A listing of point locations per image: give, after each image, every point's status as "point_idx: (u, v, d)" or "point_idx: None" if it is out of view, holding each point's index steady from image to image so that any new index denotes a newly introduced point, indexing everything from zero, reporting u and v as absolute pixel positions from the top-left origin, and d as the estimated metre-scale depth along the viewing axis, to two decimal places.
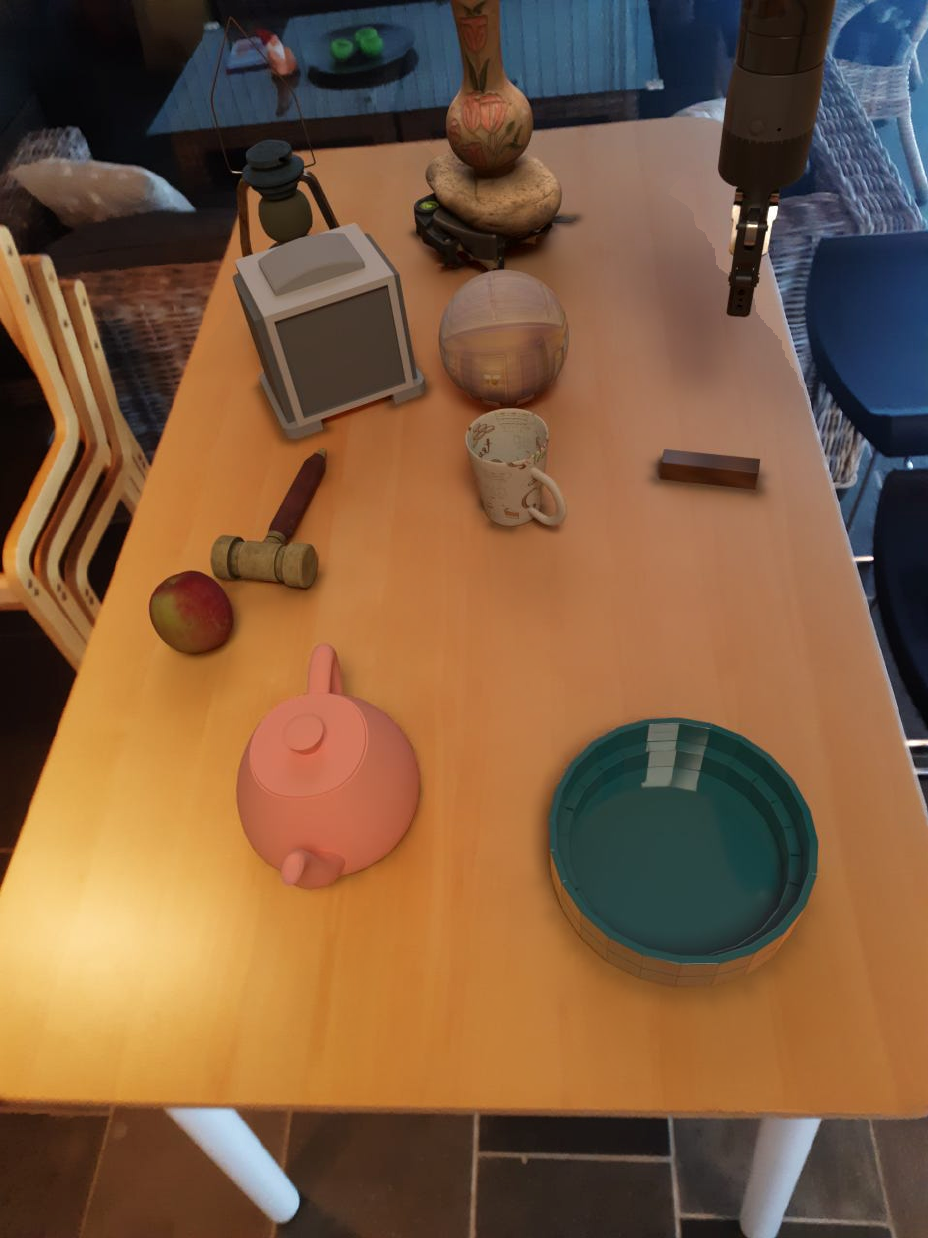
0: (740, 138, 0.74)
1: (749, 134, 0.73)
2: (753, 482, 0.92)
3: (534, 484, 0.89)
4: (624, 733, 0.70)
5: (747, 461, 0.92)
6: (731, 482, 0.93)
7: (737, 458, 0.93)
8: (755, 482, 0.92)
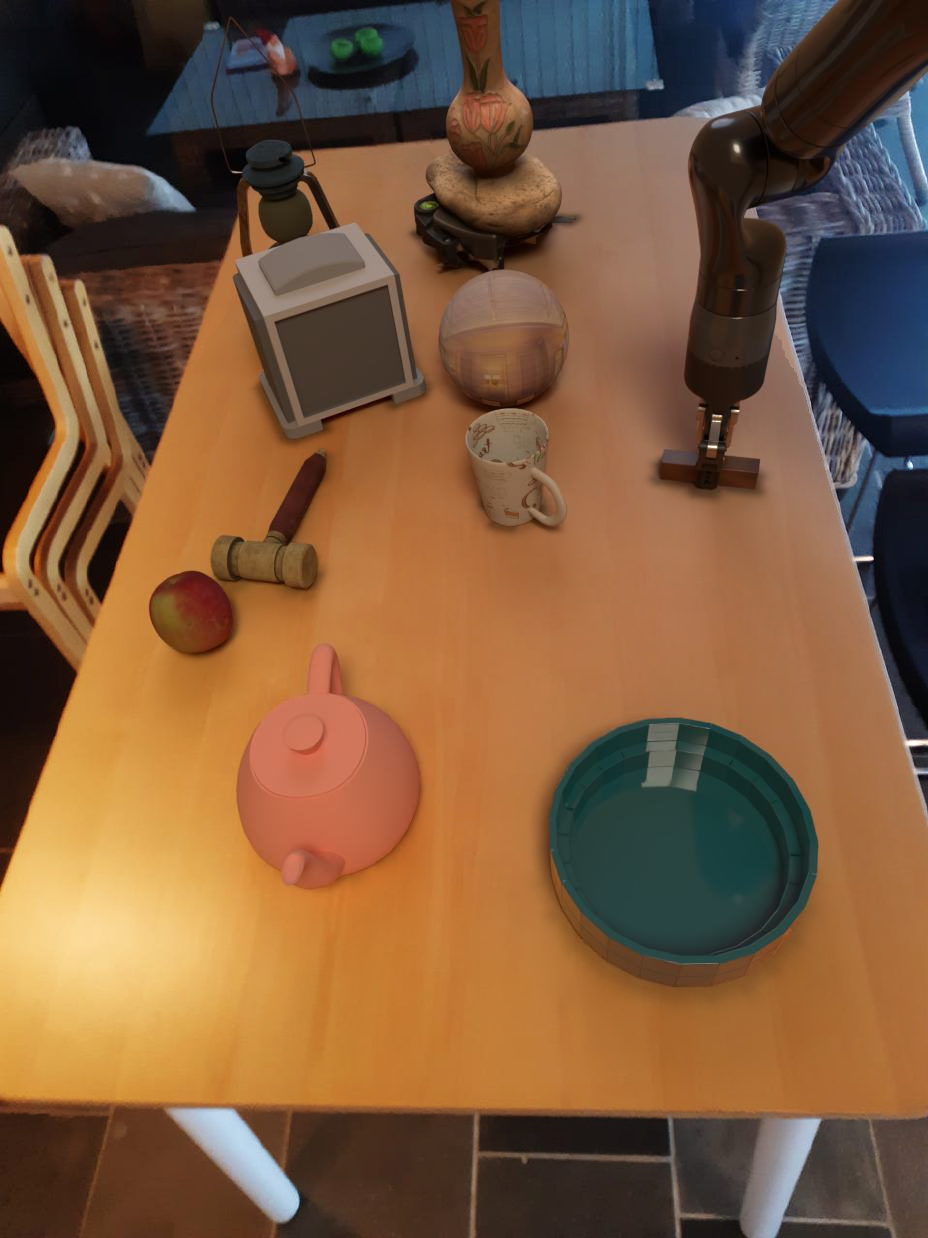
0: (702, 361, 0.80)
1: (710, 359, 0.80)
2: (753, 482, 0.92)
3: (534, 484, 0.89)
4: (624, 733, 0.70)
5: (747, 461, 0.92)
6: (731, 482, 0.93)
7: (737, 458, 0.93)
8: (755, 482, 0.92)
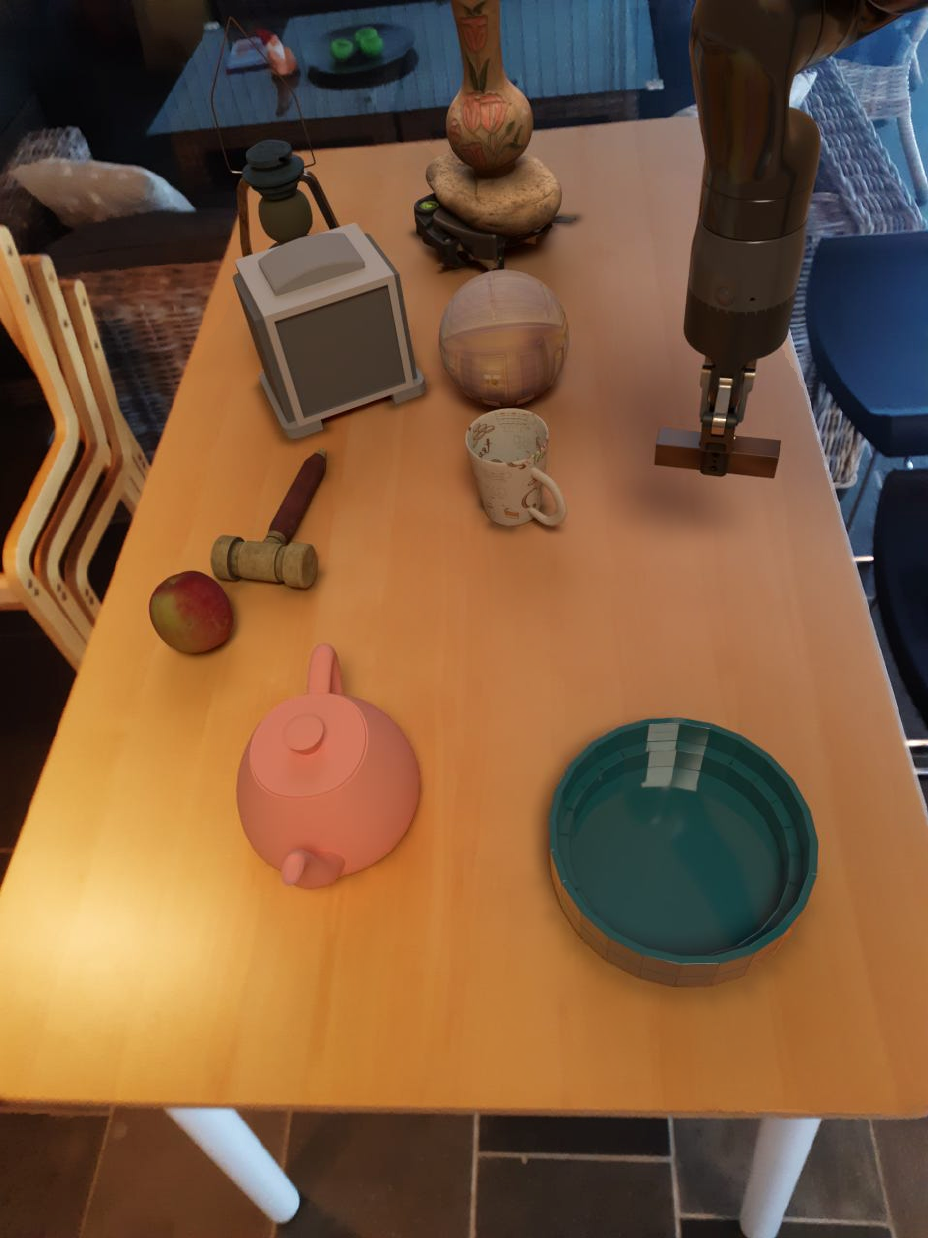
0: (706, 305, 0.61)
1: (717, 302, 0.60)
2: (772, 470, 0.73)
3: (534, 484, 0.89)
4: (624, 733, 0.70)
5: (764, 443, 0.73)
6: (744, 470, 0.74)
7: (752, 439, 0.73)
8: (774, 470, 0.73)
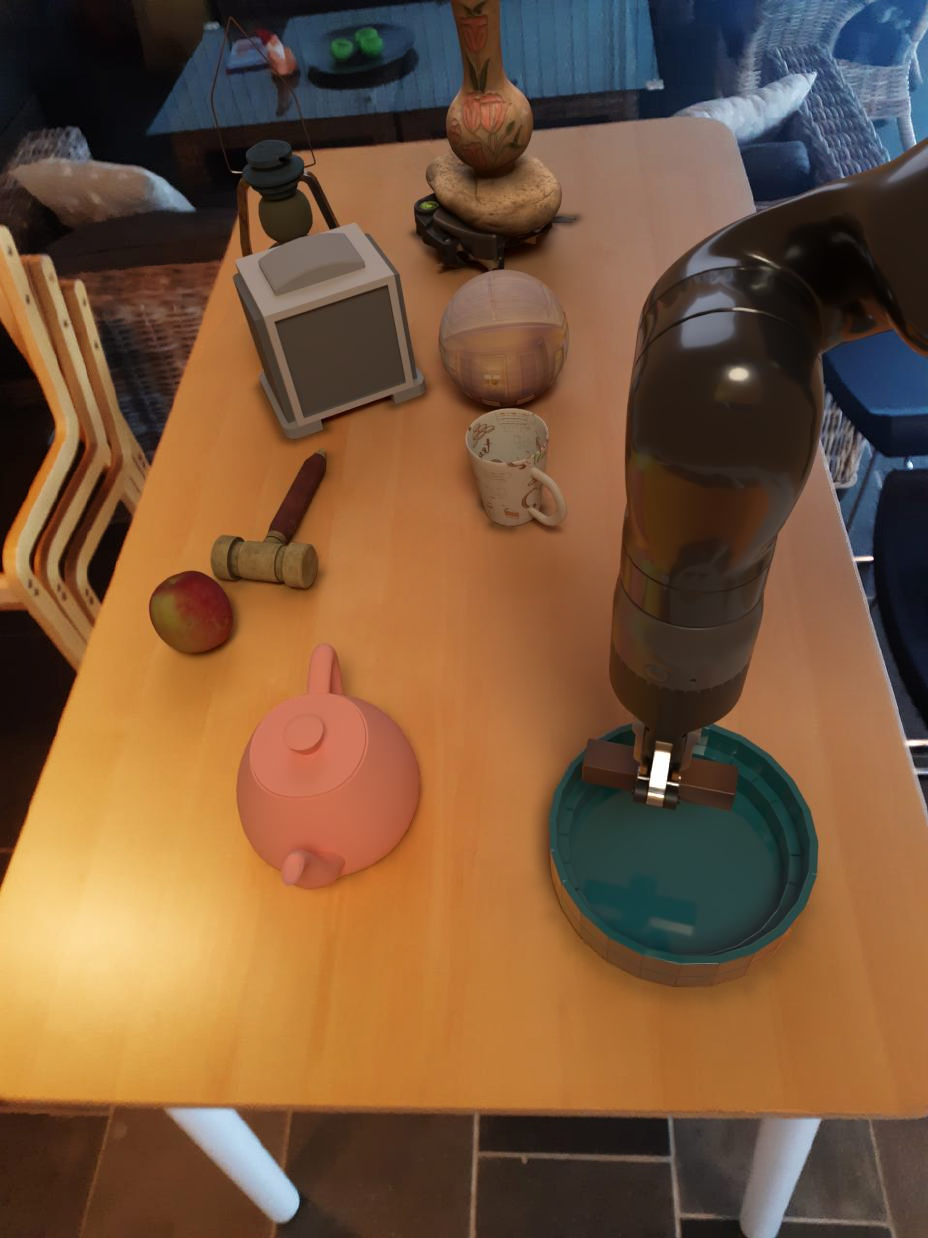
0: (634, 673, 0.46)
1: (647, 676, 0.45)
2: (728, 804, 0.58)
3: (534, 484, 0.89)
4: (624, 733, 0.70)
5: (717, 770, 0.58)
6: (692, 799, 0.59)
7: (702, 763, 0.58)
8: (730, 804, 0.58)
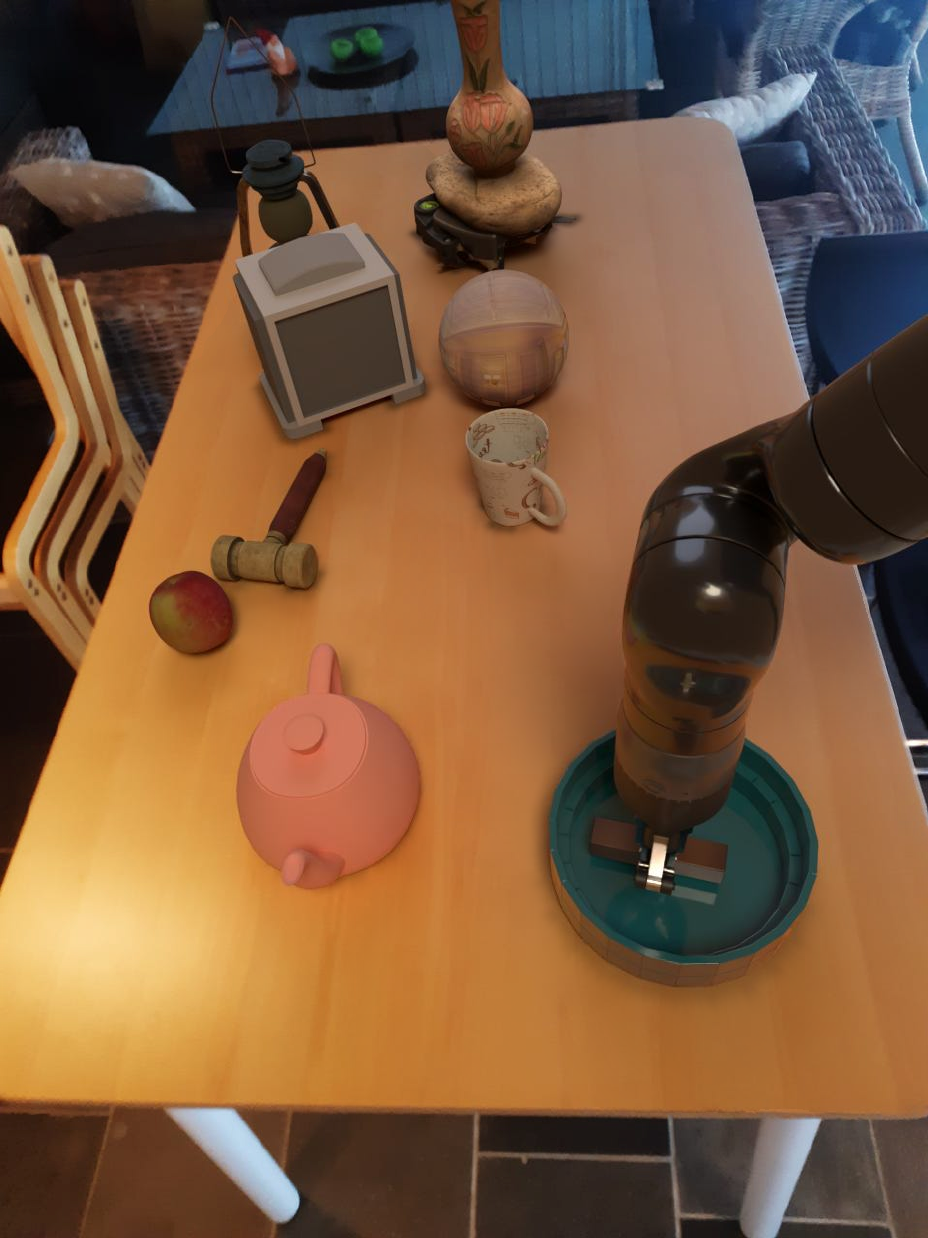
0: (635, 784, 0.53)
1: (646, 788, 0.53)
2: (718, 879, 0.66)
3: (534, 484, 0.89)
4: None
5: (709, 849, 0.66)
6: (687, 873, 0.66)
7: (696, 842, 0.66)
8: (721, 879, 0.66)
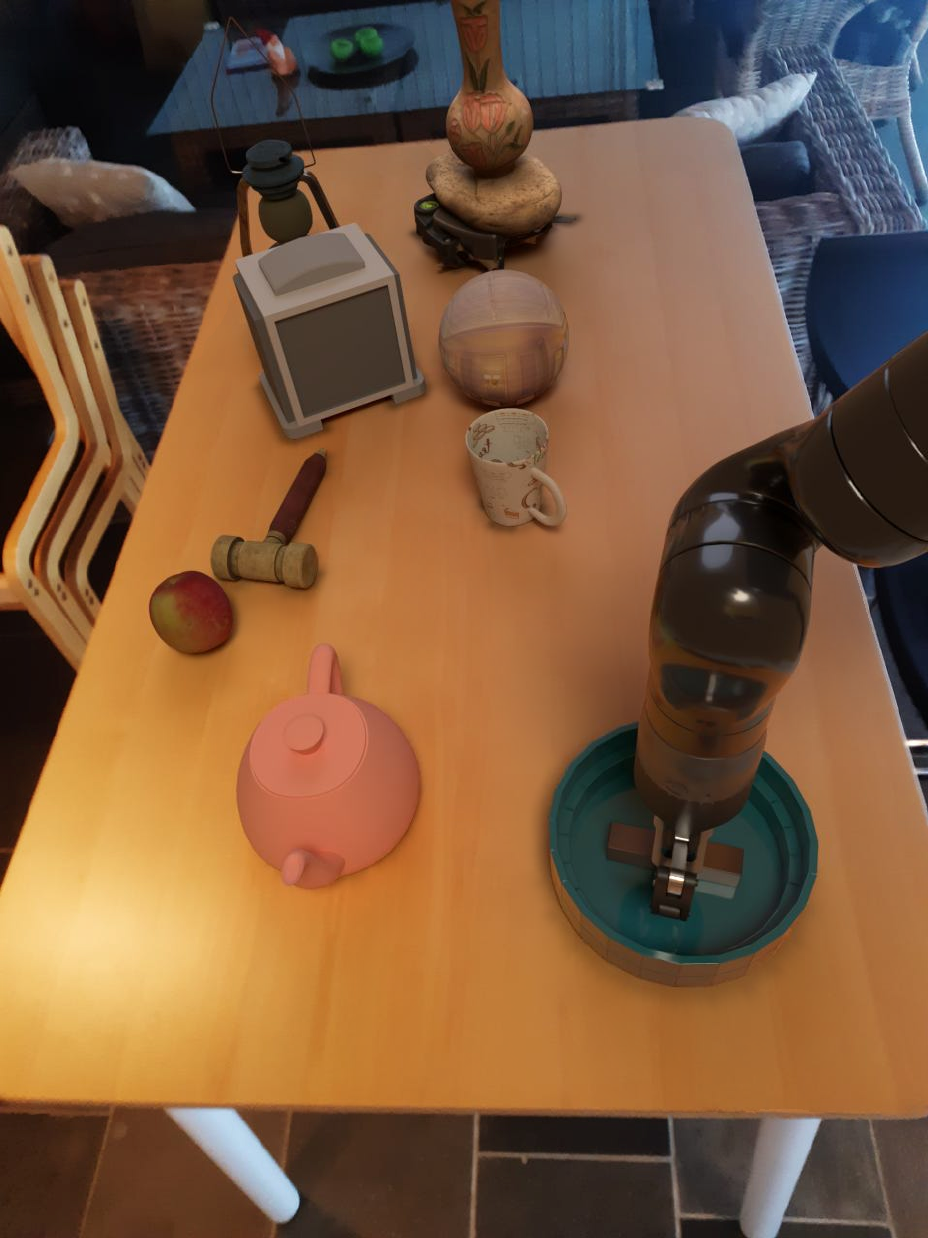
0: (657, 786, 0.54)
1: (668, 790, 0.53)
2: (735, 882, 0.66)
3: (534, 484, 0.89)
4: (624, 733, 0.70)
5: (726, 853, 0.66)
6: (704, 877, 0.67)
7: (712, 846, 0.67)
8: (737, 882, 0.66)
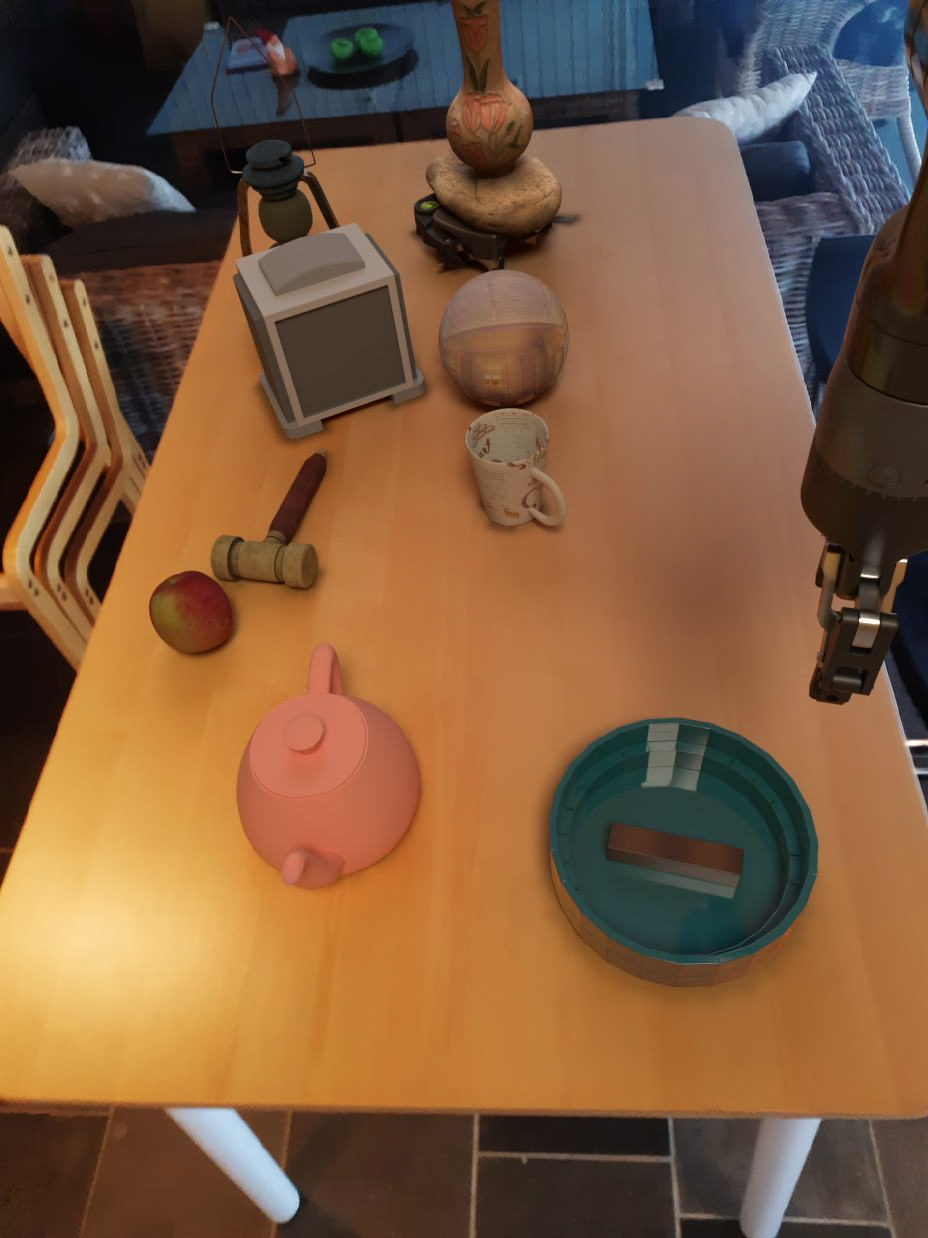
0: (850, 483, 0.40)
1: (869, 483, 0.39)
2: (735, 882, 0.66)
3: (534, 484, 0.89)
4: (624, 733, 0.70)
5: (726, 853, 0.66)
6: (704, 877, 0.67)
7: (712, 846, 0.67)
8: (737, 882, 0.66)
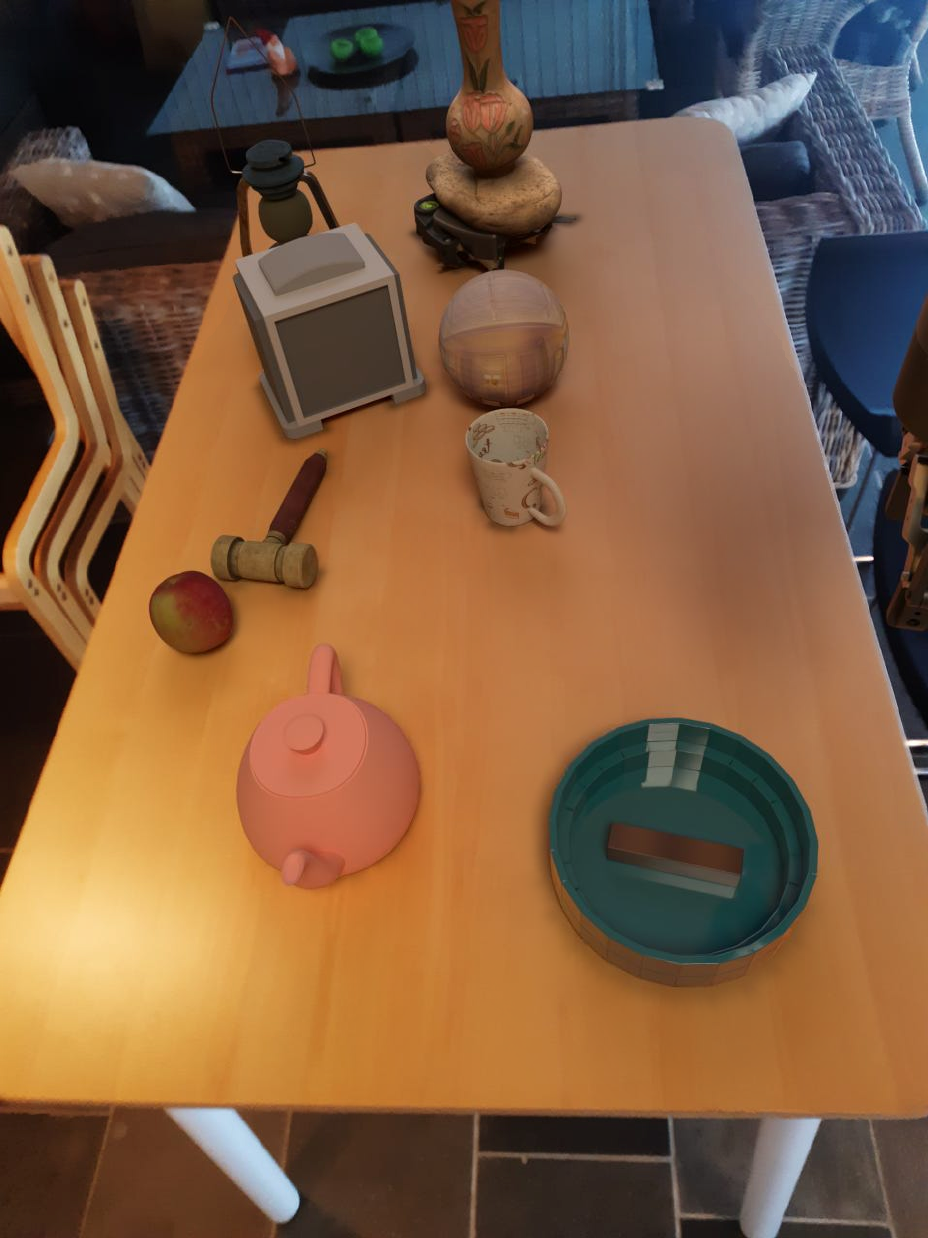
0: None
1: None
2: (735, 882, 0.66)
3: (534, 484, 0.89)
4: (624, 733, 0.70)
5: (726, 853, 0.66)
6: (704, 877, 0.67)
7: (712, 846, 0.67)
8: (737, 882, 0.66)
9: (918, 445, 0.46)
